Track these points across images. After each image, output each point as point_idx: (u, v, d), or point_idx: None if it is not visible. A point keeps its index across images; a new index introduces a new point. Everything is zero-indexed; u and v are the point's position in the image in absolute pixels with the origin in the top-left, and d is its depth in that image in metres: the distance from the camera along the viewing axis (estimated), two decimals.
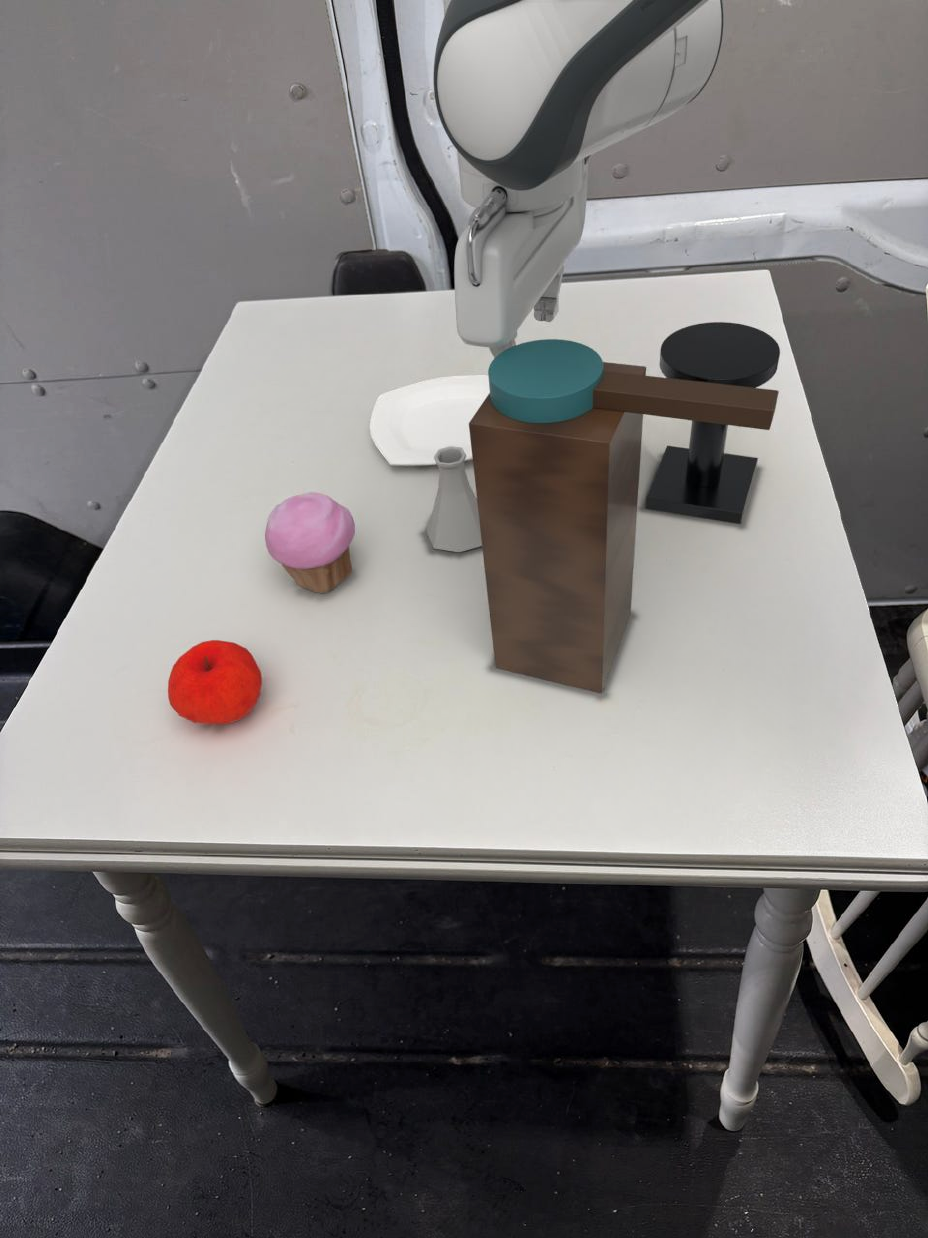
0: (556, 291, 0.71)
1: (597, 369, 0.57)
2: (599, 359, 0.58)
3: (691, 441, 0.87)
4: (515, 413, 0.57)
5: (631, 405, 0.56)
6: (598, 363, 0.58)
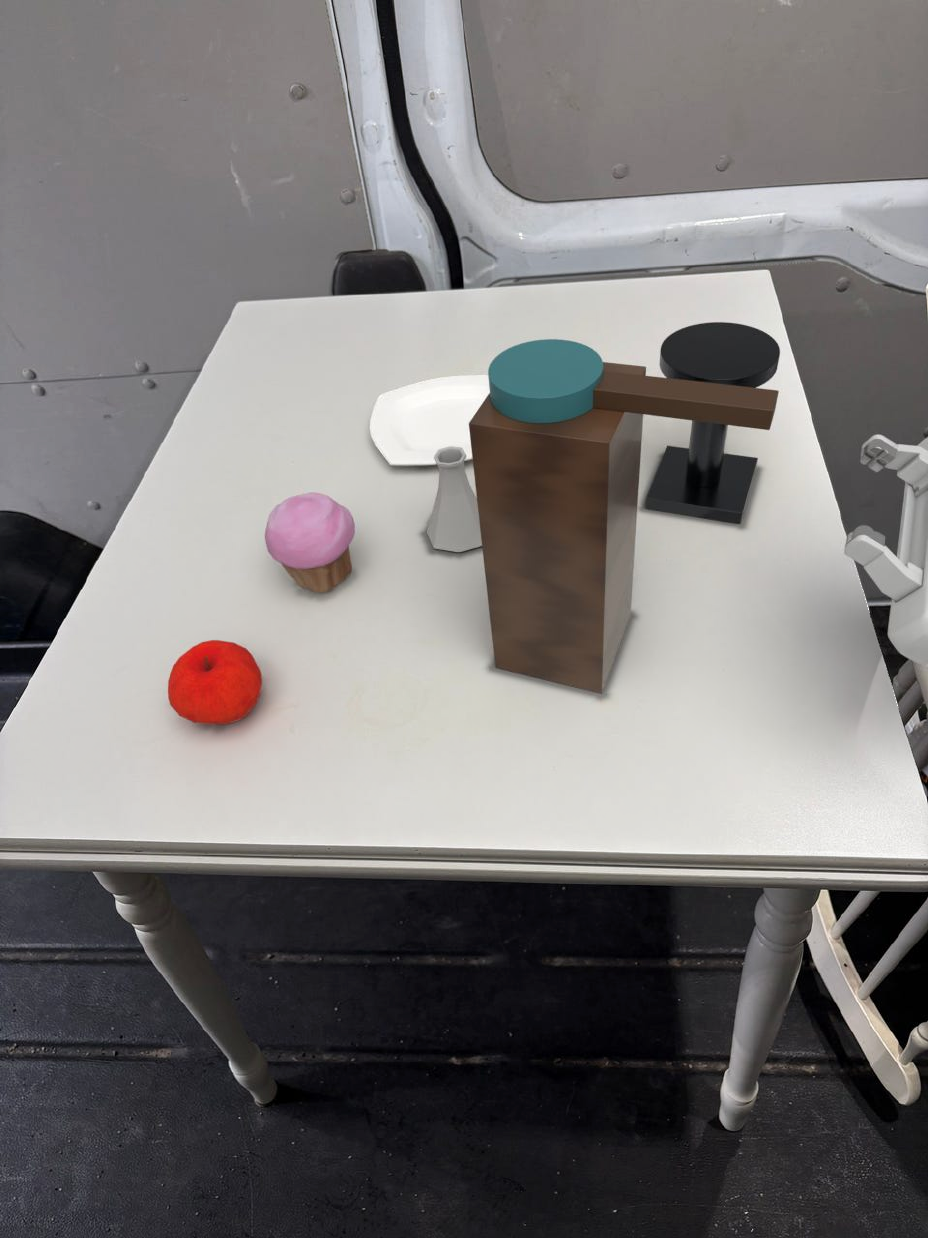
0: None
1: (597, 369, 0.57)
2: (599, 359, 0.58)
3: (691, 441, 0.87)
4: (515, 413, 0.57)
5: (631, 405, 0.56)
6: (598, 363, 0.58)
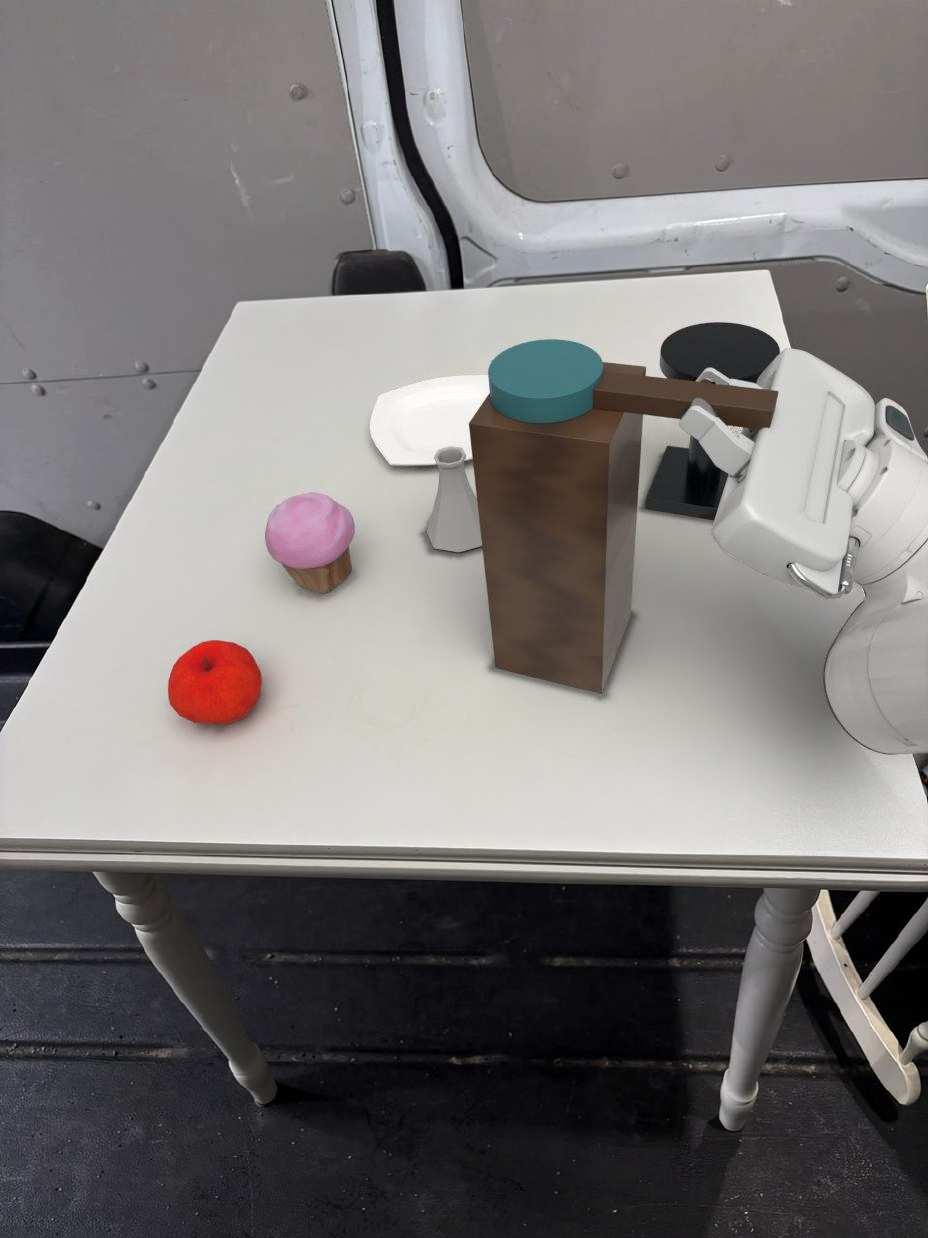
0: None
1: (597, 369, 0.57)
2: (599, 359, 0.58)
3: (691, 441, 0.87)
4: (515, 413, 0.57)
5: (631, 405, 0.56)
6: (598, 363, 0.58)
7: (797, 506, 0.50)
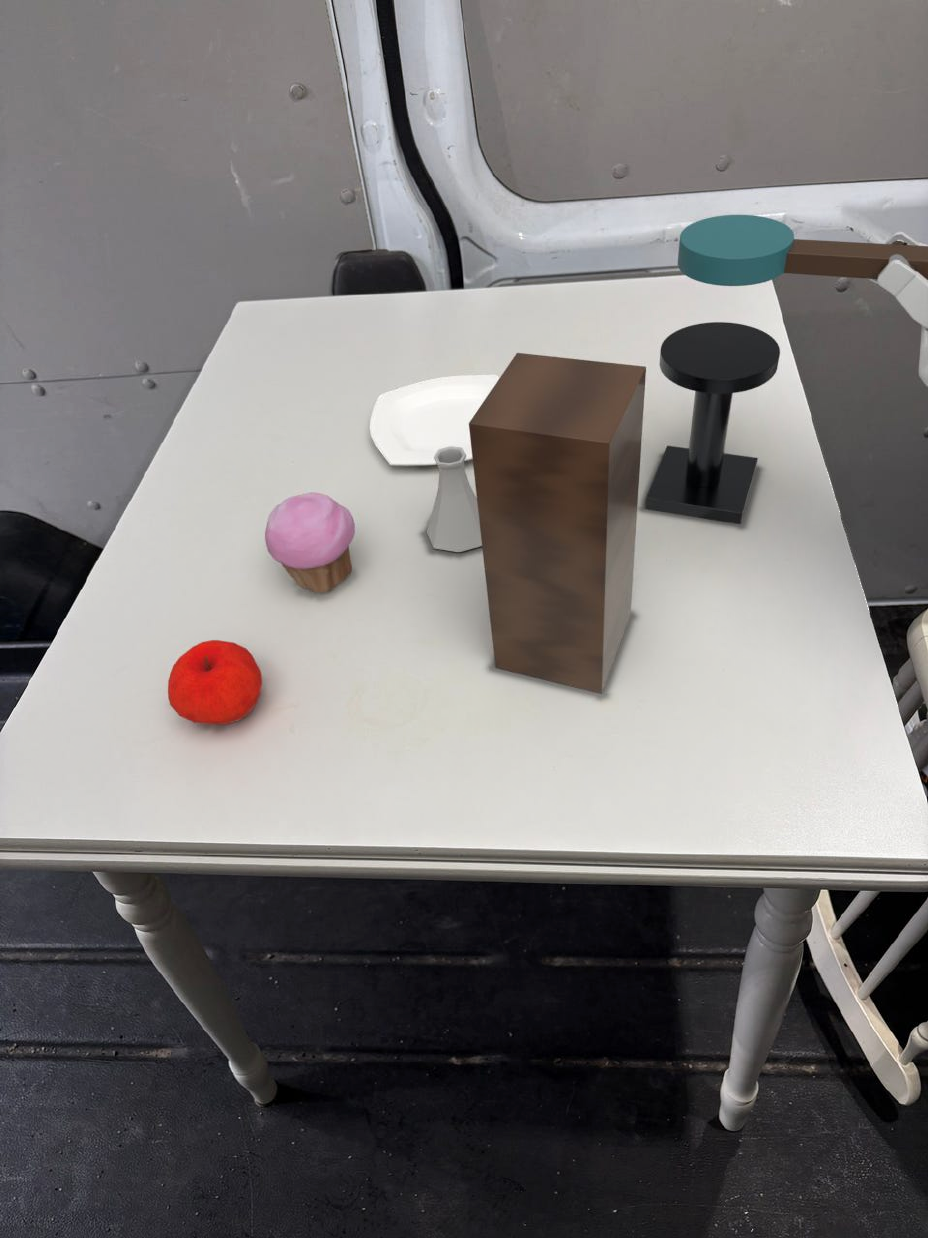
0: None
1: (788, 235, 0.60)
2: (788, 228, 0.61)
3: (691, 441, 0.87)
4: (711, 276, 0.60)
5: (824, 267, 0.59)
6: (788, 230, 0.61)
7: None
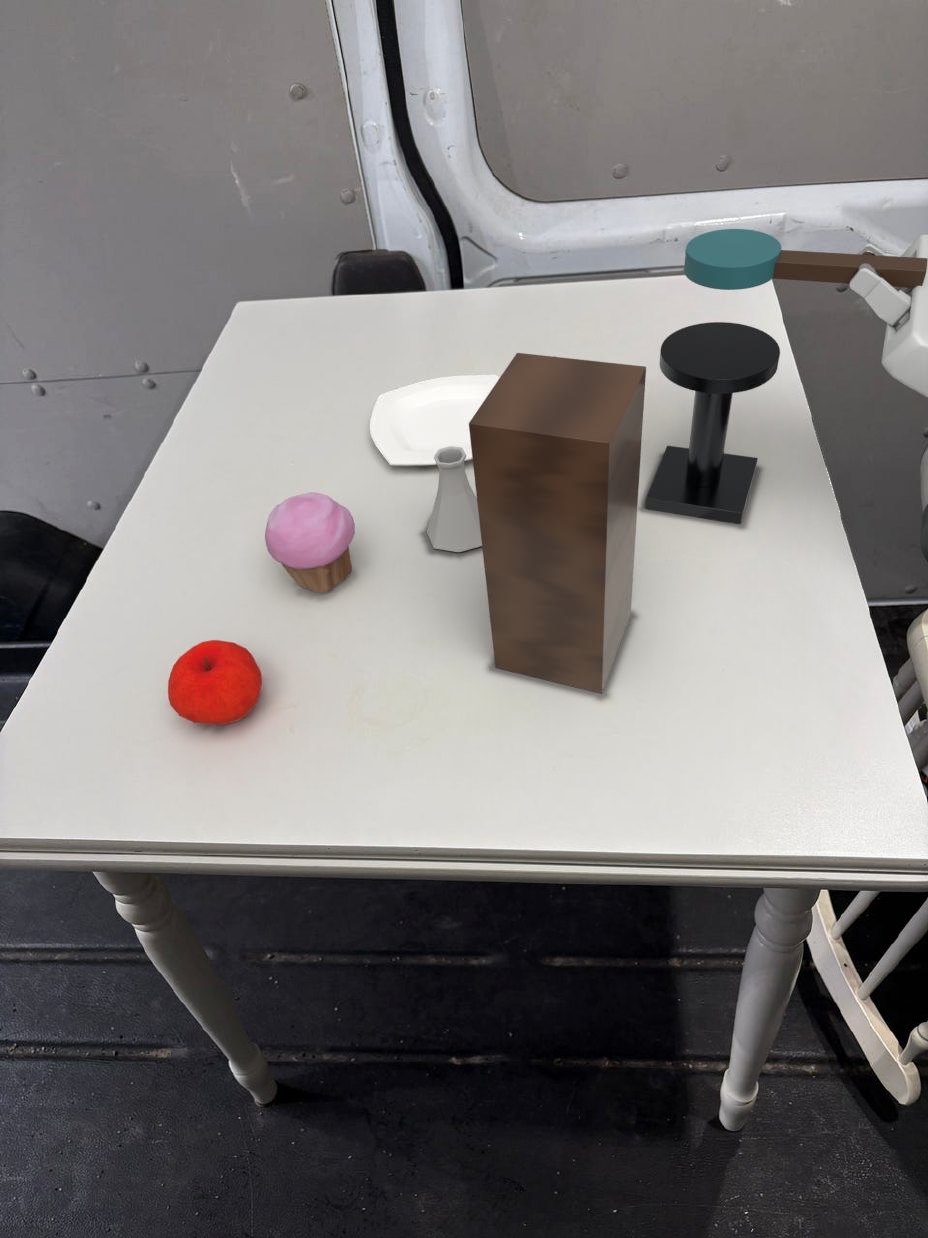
0: None
1: (776, 247, 0.72)
2: (776, 240, 0.73)
3: (691, 441, 0.87)
4: (712, 281, 0.72)
5: (806, 274, 0.71)
6: (776, 243, 0.73)
7: None
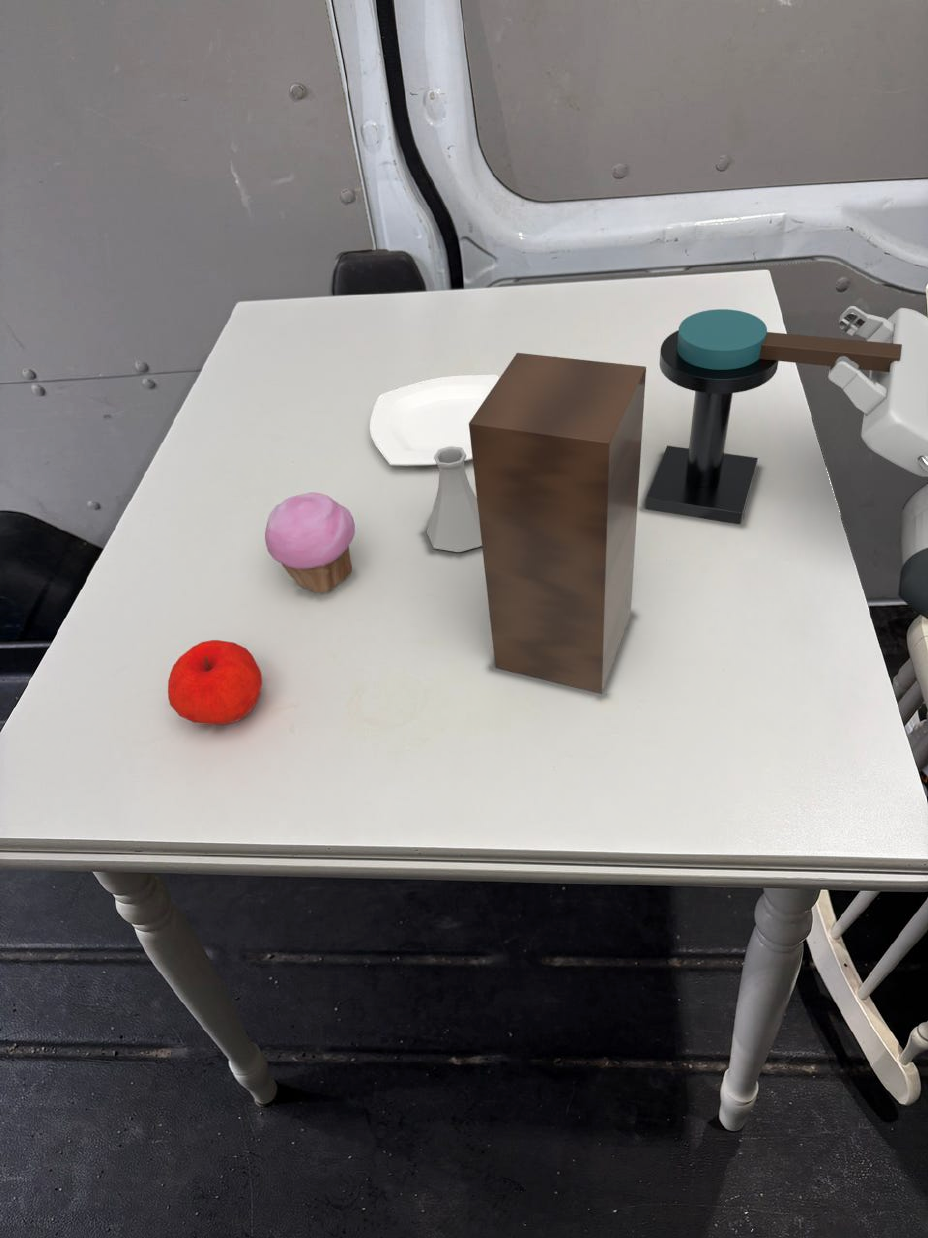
0: (857, 333, 0.79)
1: (763, 330, 0.77)
2: (762, 323, 0.78)
3: (691, 441, 0.87)
4: (703, 362, 0.77)
5: (790, 356, 0.76)
6: (762, 325, 0.78)
7: (925, 415, 0.70)
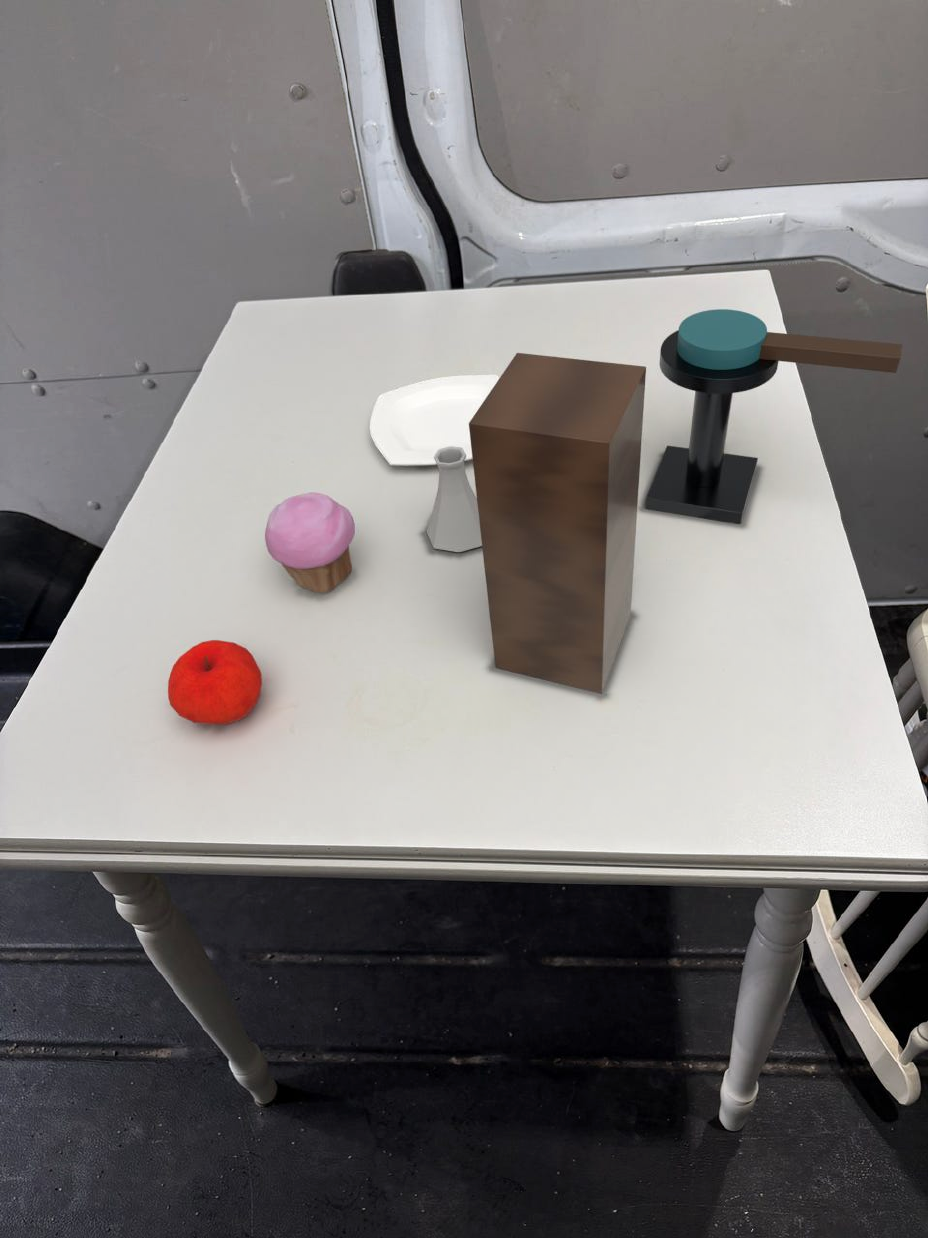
0: None
1: (763, 330, 0.77)
2: (762, 323, 0.78)
3: (691, 441, 0.87)
4: (703, 362, 0.77)
5: (790, 356, 0.76)
6: (762, 325, 0.78)
7: None
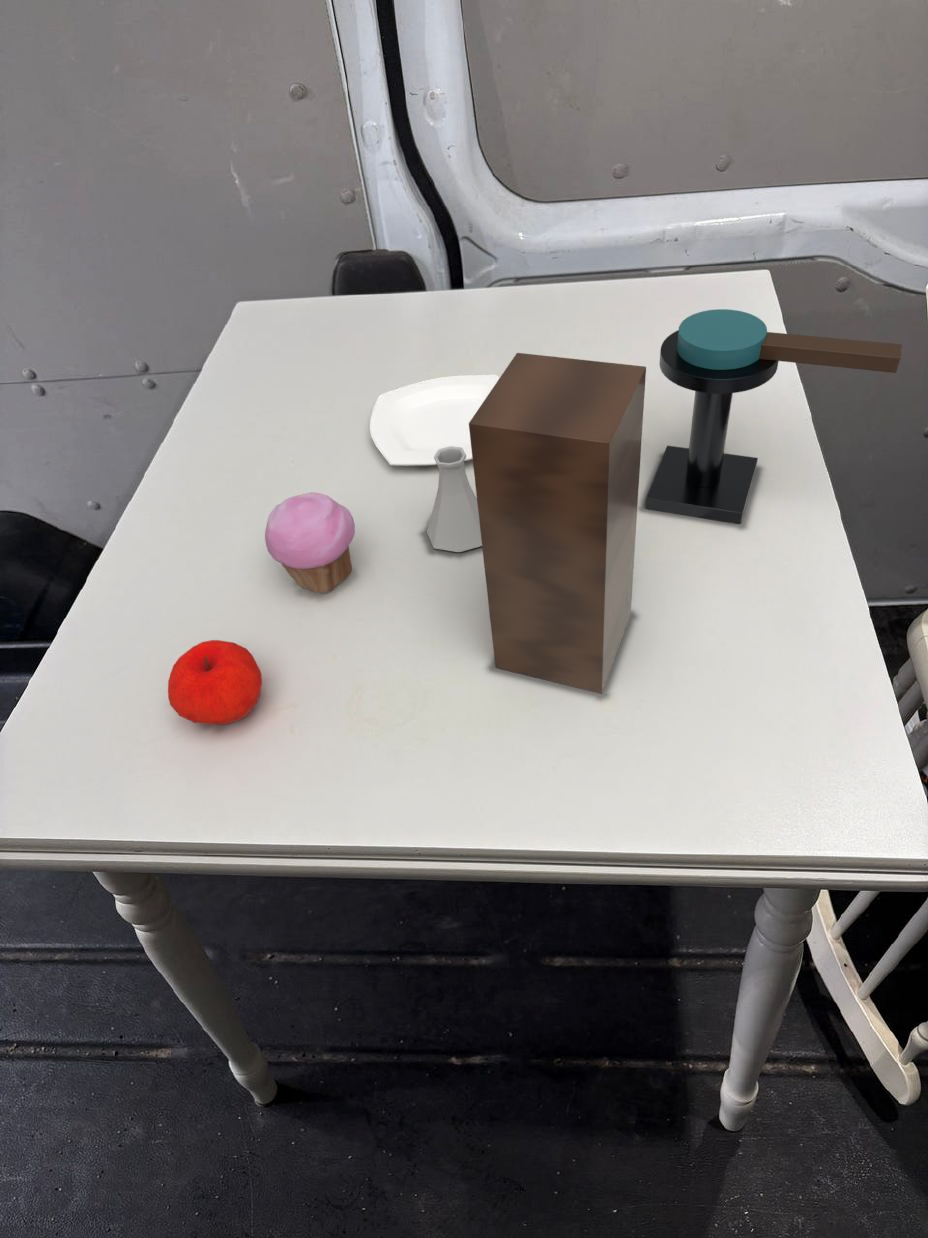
0: None
1: (763, 330, 0.77)
2: (762, 323, 0.78)
3: (691, 441, 0.87)
4: (703, 362, 0.77)
5: (790, 356, 0.76)
6: (762, 325, 0.78)
7: None
